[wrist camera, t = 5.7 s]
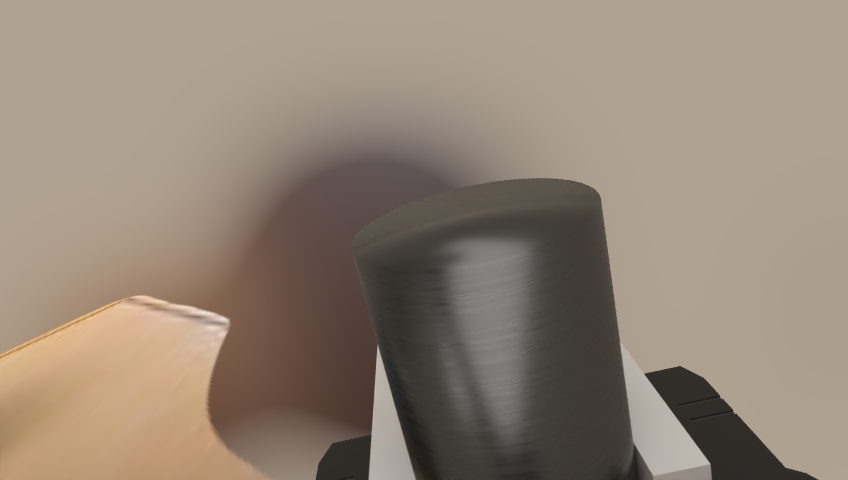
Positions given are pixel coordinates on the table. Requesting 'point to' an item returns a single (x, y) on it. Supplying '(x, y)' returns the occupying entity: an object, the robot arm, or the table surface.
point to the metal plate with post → (500, 332)
